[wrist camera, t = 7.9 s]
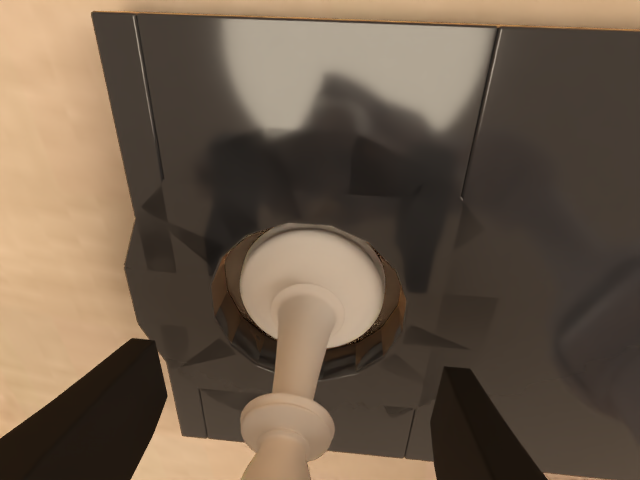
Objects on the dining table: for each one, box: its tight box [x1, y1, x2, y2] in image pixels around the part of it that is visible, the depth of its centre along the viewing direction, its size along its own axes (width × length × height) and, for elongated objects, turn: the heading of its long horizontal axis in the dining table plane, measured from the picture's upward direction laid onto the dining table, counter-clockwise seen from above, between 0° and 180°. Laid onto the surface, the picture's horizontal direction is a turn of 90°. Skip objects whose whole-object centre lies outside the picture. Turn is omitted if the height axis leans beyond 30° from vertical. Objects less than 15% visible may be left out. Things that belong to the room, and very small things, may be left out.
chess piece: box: [240, 223, 386, 480], centre depth 10 cm, size 5×5×10 cm
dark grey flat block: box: [91, 11, 640, 480], centre depth 13 cm, size 19×15×2 cm
